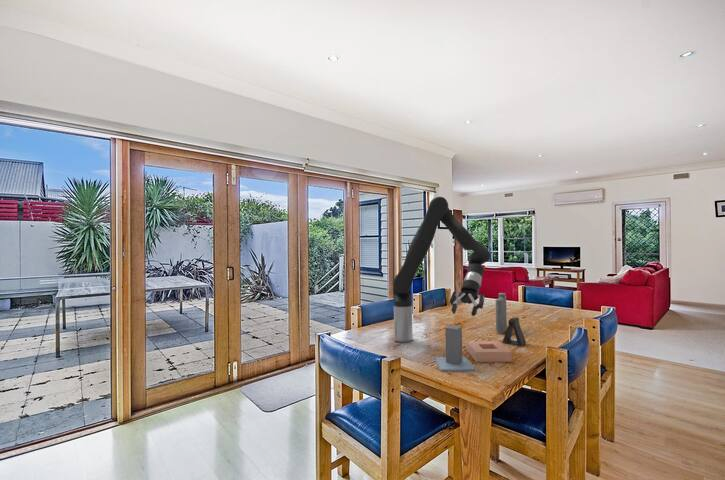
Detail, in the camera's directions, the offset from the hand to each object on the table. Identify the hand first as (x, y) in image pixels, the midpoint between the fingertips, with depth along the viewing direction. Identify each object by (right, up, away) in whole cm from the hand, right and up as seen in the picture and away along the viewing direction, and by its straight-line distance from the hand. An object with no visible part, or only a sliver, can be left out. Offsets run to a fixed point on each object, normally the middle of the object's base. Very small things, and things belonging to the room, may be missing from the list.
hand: (462, 313), depth 147 cm
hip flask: (+33, -17, +39) cm, 54 cm away
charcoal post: (-6, -18, -9) cm, 20 cm away
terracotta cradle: (+11, -18, 0) cm, 21 cm away
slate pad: (-7, -18, -10) cm, 22 cm away
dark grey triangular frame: (+29, -18, +16) cm, 38 cm away
